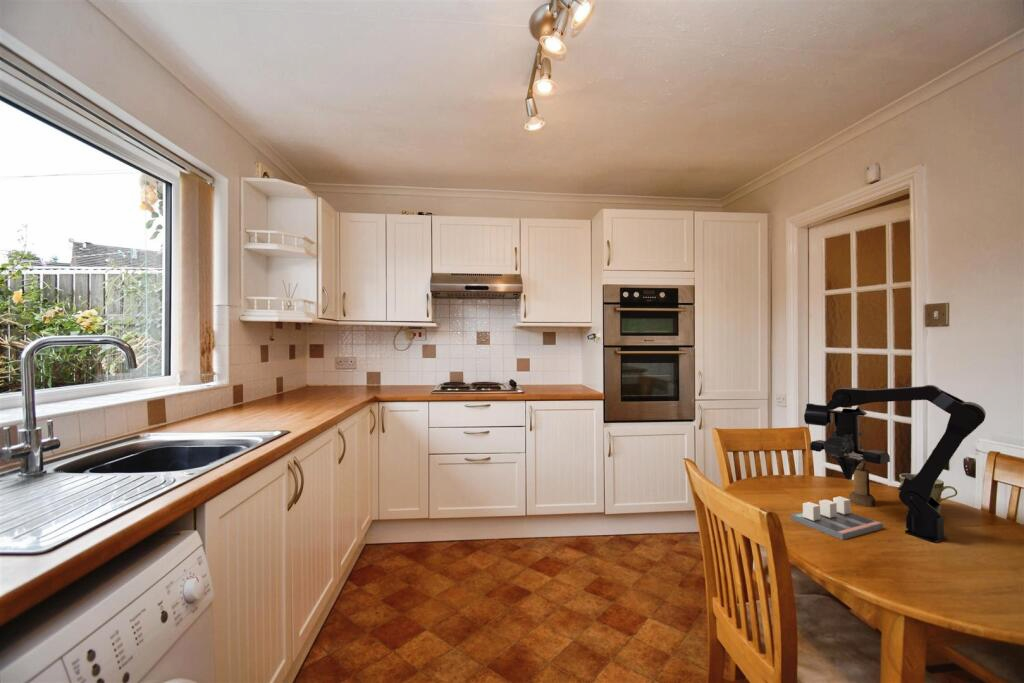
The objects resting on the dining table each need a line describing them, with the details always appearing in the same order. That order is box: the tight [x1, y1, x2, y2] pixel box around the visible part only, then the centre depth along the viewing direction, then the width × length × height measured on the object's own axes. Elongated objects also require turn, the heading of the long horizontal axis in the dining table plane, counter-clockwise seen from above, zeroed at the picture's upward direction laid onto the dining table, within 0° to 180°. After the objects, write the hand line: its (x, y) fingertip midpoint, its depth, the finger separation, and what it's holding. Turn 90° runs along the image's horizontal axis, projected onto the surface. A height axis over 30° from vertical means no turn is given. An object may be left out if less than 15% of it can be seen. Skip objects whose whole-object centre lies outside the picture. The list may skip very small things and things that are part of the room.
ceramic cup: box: [899, 473, 958, 508], centre depth 126 cm, size 13×10×10 cm
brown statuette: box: [848, 448, 876, 507], centre depth 134 cm, size 7×6×18 cm
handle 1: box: [802, 501, 820, 521], centre depth 119 cm, size 3×3×4 cm
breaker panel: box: [790, 511, 884, 541], centre depth 118 cm, size 14×18×2 cm
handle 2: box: [818, 499, 837, 518], centre depth 120 cm, size 3×3×4 cm
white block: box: [832, 495, 852, 514], centre depth 123 cm, size 3×3×4 cm
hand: (848, 479), depth 123 cm, fingers closed
